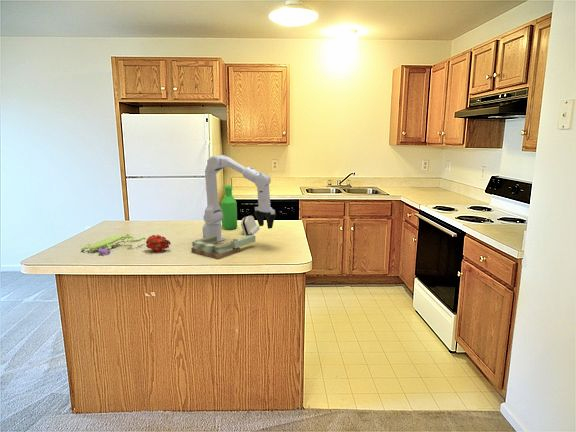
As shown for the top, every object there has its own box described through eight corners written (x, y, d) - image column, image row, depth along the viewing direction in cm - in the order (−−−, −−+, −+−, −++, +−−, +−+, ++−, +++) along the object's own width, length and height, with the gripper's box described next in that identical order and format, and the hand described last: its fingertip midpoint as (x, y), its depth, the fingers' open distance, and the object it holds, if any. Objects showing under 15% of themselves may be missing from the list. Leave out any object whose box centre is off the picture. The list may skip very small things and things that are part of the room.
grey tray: (191, 251, 183) (190, 241, 181) (213, 244, 194) (213, 235, 192) (218, 259, 172) (217, 248, 171) (240, 251, 183) (239, 241, 182)
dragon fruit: (145, 253, 186) (170, 257, 186) (140, 247, 178) (165, 251, 178) (150, 236, 189) (175, 240, 189) (145, 230, 182) (170, 234, 181)
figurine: (149, 247, 192) (148, 236, 190) (92, 259, 173) (91, 247, 172) (133, 239, 204) (132, 229, 203) (78, 250, 186) (77, 239, 185)
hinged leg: (235, 248, 180) (235, 241, 179) (230, 247, 182) (230, 240, 181) (255, 241, 191) (255, 234, 190) (250, 240, 193) (250, 233, 192)
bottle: (240, 227, 228) (239, 185, 223) (230, 230, 221) (229, 187, 215) (228, 225, 233) (227, 184, 227) (218, 228, 225) (217, 186, 220)
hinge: (253, 235, 210) (246, 218, 209) (245, 238, 211) (238, 221, 210) (260, 228, 226) (254, 212, 225) (252, 230, 227) (246, 214, 226)
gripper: (279, 199, 183) (281, 227, 186) (262, 197, 195) (264, 223, 197) (267, 201, 179) (269, 230, 182) (250, 199, 190) (252, 226, 193)
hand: (265, 227), depth 189 cm, fingers open, 7 cm apart
